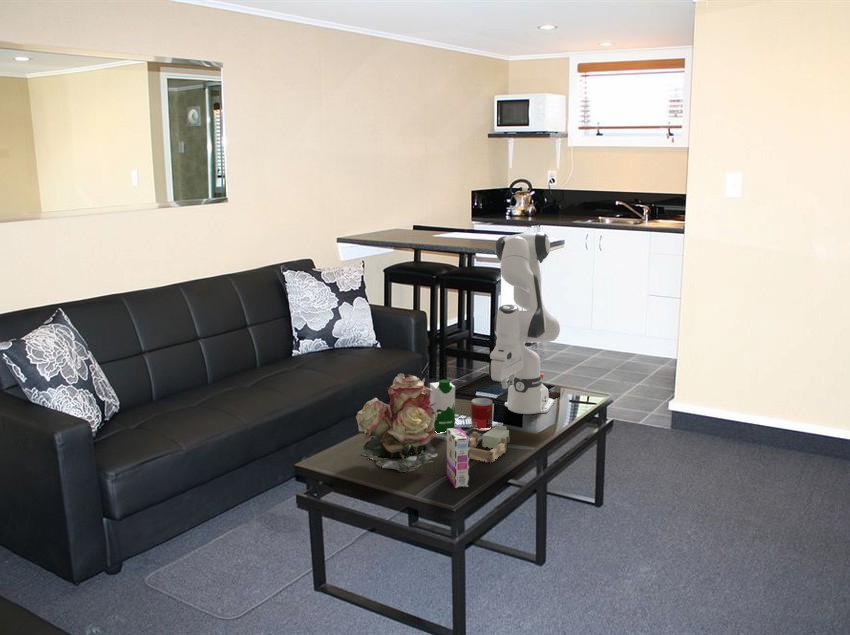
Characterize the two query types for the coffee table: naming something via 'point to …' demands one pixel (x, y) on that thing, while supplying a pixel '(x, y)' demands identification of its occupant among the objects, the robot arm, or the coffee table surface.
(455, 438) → the candy bar box
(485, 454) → the frame
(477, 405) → the canned food
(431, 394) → the milk carton
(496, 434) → the pale green box
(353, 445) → the coffee table surface
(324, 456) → the coffee table surface
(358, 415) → the rose bouquet
